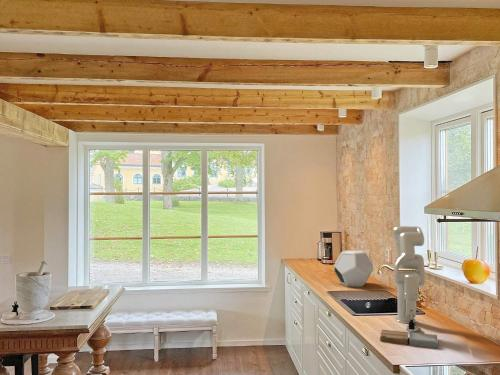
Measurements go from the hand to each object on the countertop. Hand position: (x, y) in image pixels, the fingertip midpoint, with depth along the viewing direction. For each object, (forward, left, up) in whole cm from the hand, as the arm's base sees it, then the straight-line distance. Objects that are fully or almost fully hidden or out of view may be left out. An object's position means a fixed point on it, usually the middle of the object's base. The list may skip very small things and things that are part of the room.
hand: (411, 328), depth 259 cm
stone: (+1, 0, -4) cm, 5 cm away
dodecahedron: (-135, -50, -4) cm, 144 cm away
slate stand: (+13, +6, -4) cm, 15 cm away
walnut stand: (+13, -9, -4) cm, 17 cm away
